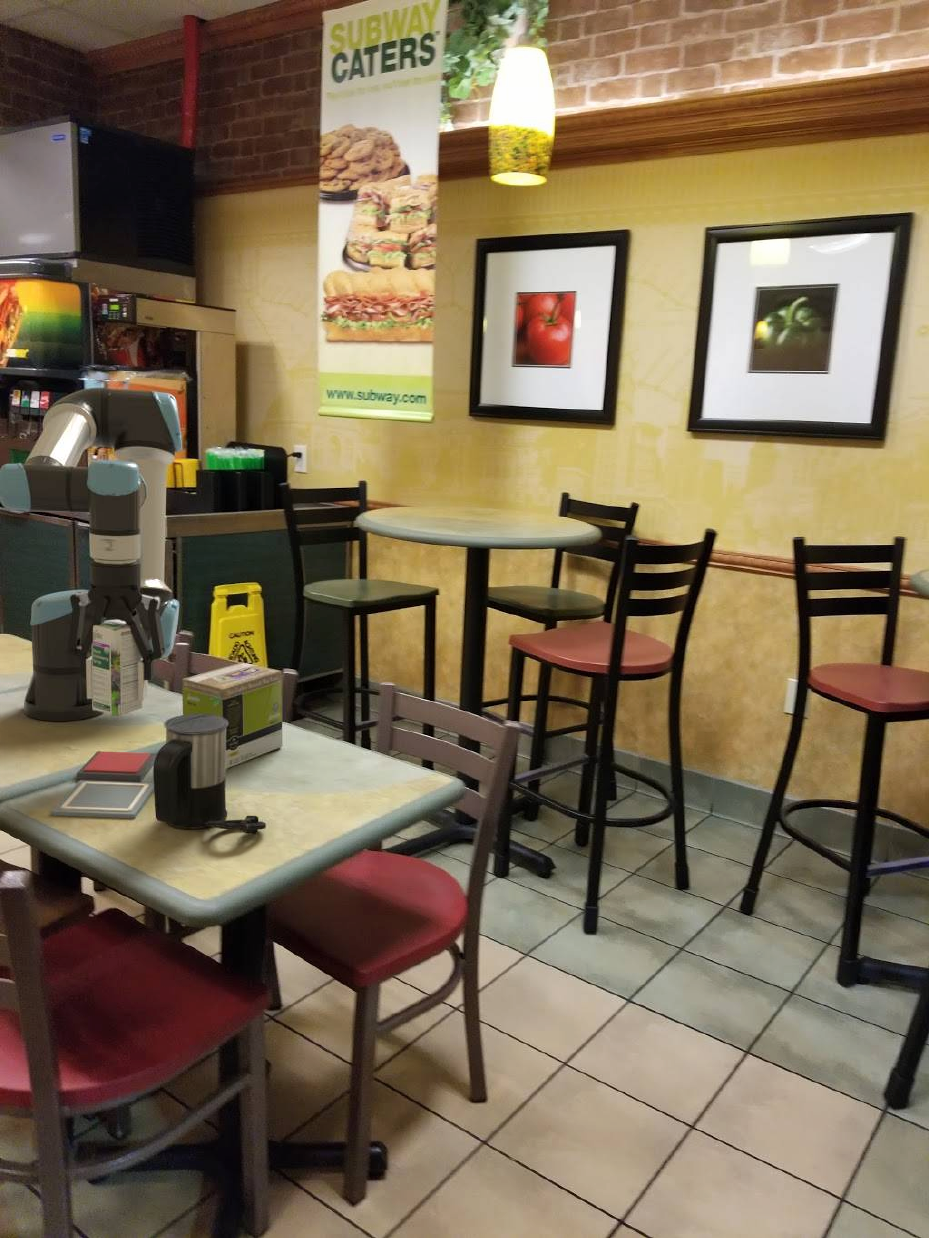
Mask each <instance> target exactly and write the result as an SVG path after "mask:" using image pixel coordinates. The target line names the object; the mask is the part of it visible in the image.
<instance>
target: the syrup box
mask: <svg viewBox="0 0 929 1238" xmlns="http://www.w3.org/2000/svg"><path fill="white" fill-rule="evenodd" d="M129 627H130V626H128V625H127V624H126V622H124V621H121V620H107V621H104V622H103V623H101V624H100V625H94V626H93V642H92V645H91V647H92V709H93V710H94V711H100V712H103V713H104V714H107V715H110V716H113V717H120V716H123V715H125V714H126V715H127V714H128V713H131V712H134V711H136V710H140V709H142V708H143V701H138V662H139V661H140V660H141V659H142V656H141V654H140V652H139V649H138V647H137V645H136V642H135V640H134V638H133V635H132V633H131V629H130V628H129ZM141 627H142V626H141ZM103 713H102V714H103Z"/></svg>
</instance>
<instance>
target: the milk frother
mask: <svg viewBox="0 0 929 1238" xmlns="http://www.w3.org/2000/svg"><path fill="white" fill-rule="evenodd" d="M227 726H228V721H227V720H226V719H224V718H222V717H219V716H216V715H215V716H214V715H208V714H188V715H183V714H182V715H176V716H174V717H172V718H169V719H167V720H166V721H164V722H163V727H164V728H165V731H166V732H165V736H166V737H165V739H166V740H165V743H164V744H163V745H162V747H160V748H159V750H158V752H157V753H156V754H157V755H156V758H155V761H154V765H153V766H152V770H153V771H152V776H153V783H154V792H153V793H154V811H155V819H156V820H157V821H159V822H162V823H166V824H168V826H172V827H174V828H175V827H176V828H178V829H186V830H199V829H206V828H210V827H211V828H215V829H221V830H222V829H223V830H239V831H242V832H243V833H245V834H246V835H256V834H258V832H259V831H258V830H265V829H266V827H267V823H266V822H265V821H259V817H258V816H257V815H246V816H245V818H244V819H228V820H227V819H226V818H227V817H228V811H227V808H226V807H227V806H226V803H227V802H226V770H227V769H226V727H227Z"/></svg>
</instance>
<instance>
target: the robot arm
mask: <svg viewBox="0 0 929 1238" xmlns="http://www.w3.org/2000/svg"><path fill="white" fill-rule="evenodd" d="M178 408H179V407H178V403H177V399H176V398H175V396H174V395H172V394H171V393H168V392H163V391H162V392H159V391H154V390H150V391H149V390H138V389H137V390H135V389H123V388H122V389H121V388H119V389H118V388H105V387H89V388H86V389H80V390H77V391H74V392H72V393H70V394H67V395H65V396H64V397H62V398H60V399H58V400H57V401H56V402H54V403H53V404H52V405H51V406H50V407H49V409H48V410H47V411H46V413H45V414H44V417H43V419H42V430H43V431H42V432H41V434H40V435H39V438H38V439H37V441H36V443H35V444H34V446H33V448H32V449H31V451H30V453H29V455H28V457H27V458H26V460H25V462H24V463H21V462H17V463H6V464H3V465H2V466H1V468H0V504H1V505H2V506H3V507H4V508H5V509H6V510H13V511H24V512H25V513H28V512H40V513H41V512H42V513H44V512H45V513H77V514H88V515H89V516H88V520H89V522H88V523H89V530H88V531H89V532H88V533H89V534H88V535H89V536H88V537H89V557H90V558H91V559H92V560H91V561H90V562H89V578H90V580H89V582H90V583H89V584H90V587H89V589H73V590H63V591H58V592H57V591H56V592H53V593H49V594H44V595H42V596H40V597H38V598H37V599H35V600H34V601H33V602H32V604H31V613H30V615H31V618H30V623H29V624H30V626H31V629H30V630H31V648H32V649H31V650H32V676H31V679H30V683H29V684H28V688H27V691H26V694H25V697H24V700H23V710H24V714H25V713H26V714H27V715H28V717H29V716H30V717H29V718H31V717H33V718H32V719H34V718H36V719H35V720H39V719H40V721H47V722H67V721H71V722H72V721H78V720H84V719H85V720H86V719H89V718H93V717H97V716H99V715H101V714H103V712H100V711H94V710H93V709H92V647H91V645H92V642H93V626H94V625H100V624H101V623H103V622H104V621H107V620H121V621H124V622H126V624H127V625H128V626H130V627H129V628H130V629H131V633H132V635H133V638H134V640H135V642H136V645H137V647H138V649H139V652H140V654H141V656H142V659H141V660H140V661H139V662H138V701H142V702H144V701H145V700H146V699H147V698H148V696H149V692H148V690H149V688H148V687H149V685H148V684H149V682H148V681H151V680H152V679H153V678H154V675H155V674H154V673H155V668H154V667H155V665H154V660H159V659H164V658H167V657H168V656H170V655H171V653H172V651H173V648H174V646H175V640H176V635H177V628H178V623H179V622H178V621H179V611H180V601H178V600H177V599H175V598H173V595H172V594H173V591H172V590H171V589H170V587H168V586H167V585H166V583H165V567H166V566H165V560H166V559H165V556H166V555H165V554H166V520H167V519H166V517H167V516H166V514H167V510H166V509H167V507H166V506H167V474H168V473H167V470H168V467H169V466H170V465H171V464H172V463H174V462H175V457H176V454H175V453H179V452H181V451H183V440H182V430H181V425H180V424H181V423H180V415H179V409H178ZM91 447H95V448H97V447H98V448H112V449H113V456H114V458H115V459H99V460H93V461H91V462H90V463H89V464H88V467H87V466H85V467H84V466H78V463H79V462H80V460H81V457H82V454H83V453H84V451H85V450H87V449H88V448H91ZM116 459H117V460H116ZM141 626H142V627H141ZM26 714H25V715H26ZM27 715H26V716H27Z"/></svg>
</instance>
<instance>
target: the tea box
mask: <svg viewBox="0 0 929 1238" xmlns="http://www.w3.org/2000/svg"><path fill="white" fill-rule="evenodd" d="M181 684H182V685H181V688H182V690H181V692H182V696H181V697H182V715H188V714H208V715H214V716H215V715H216V716H219V717H222V718H224V719H226V720H227V721H228V726H227V727H226V770H227V769H229V768H231V767H235V766H237V765H239V764H242V763H244V762H246V761H249V760H252V759H254V758H257V757H259V756H262V755H265V754H267V753H270V752H271V751H272V752H273V751H275V750H277V749H280V748H282V747H283V671H282V670H278V669H273V668H269V667H265V666H260V665H255V664H252V663H246V662H244V661H242V662H238V663H235V664H231V665H227V666H225V667H219V668H217V669H213V670H209V671H206V672H202V673H199V674H196V675H192V676H189V677H184V678H182V682H181Z"/></svg>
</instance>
